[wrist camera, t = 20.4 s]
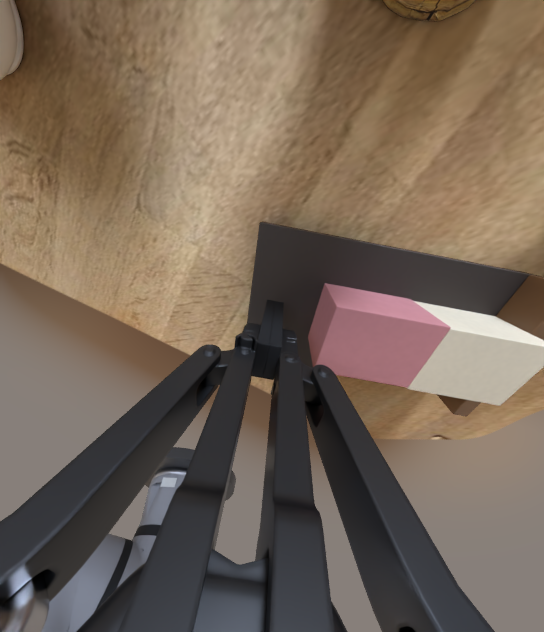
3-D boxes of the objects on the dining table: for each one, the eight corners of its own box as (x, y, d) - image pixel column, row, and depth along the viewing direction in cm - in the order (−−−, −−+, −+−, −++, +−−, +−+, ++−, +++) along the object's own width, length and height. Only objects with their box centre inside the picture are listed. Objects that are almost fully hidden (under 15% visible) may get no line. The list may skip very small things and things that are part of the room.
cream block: (454, 364, 21) (500, 405, 16) (381, 351, 20) (407, 389, 16) (494, 316, 18) (563, 349, 13) (410, 300, 18) (450, 329, 13)
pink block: (382, 350, 20) (408, 388, 16) (307, 336, 20) (313, 371, 16) (410, 298, 18) (451, 327, 13) (324, 282, 17) (336, 306, 13)
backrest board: (437, 383, 24) (466, 416, 20) (245, 348, 23) (236, 375, 20) (526, 272, 17) (598, 290, 13) (262, 221, 17) (254, 224, 13)
